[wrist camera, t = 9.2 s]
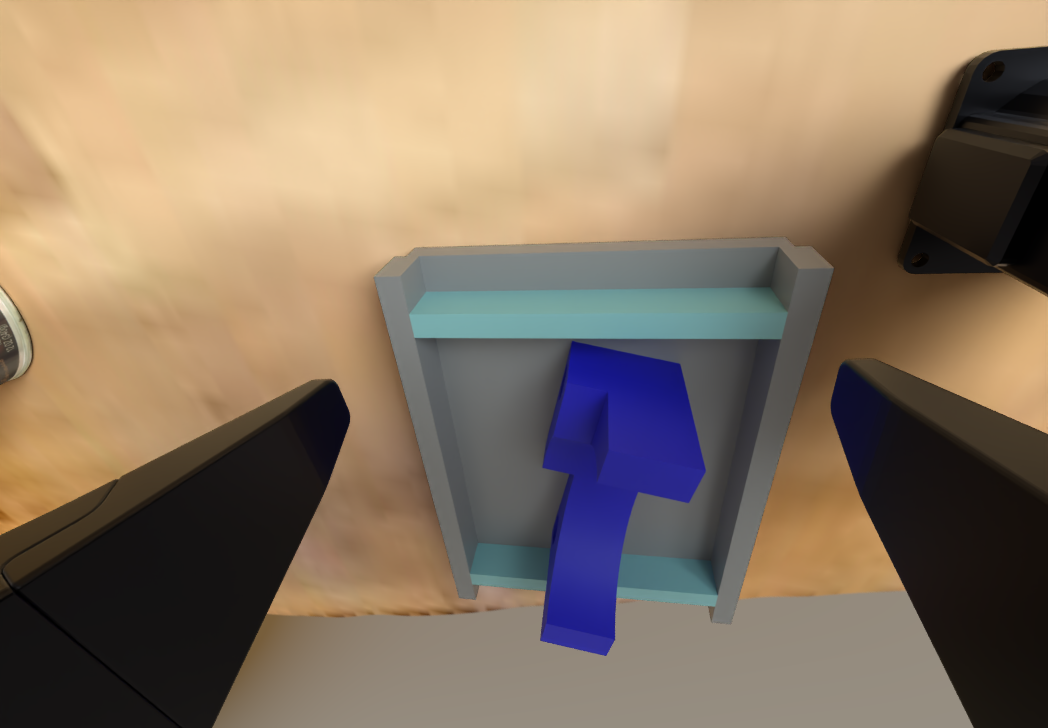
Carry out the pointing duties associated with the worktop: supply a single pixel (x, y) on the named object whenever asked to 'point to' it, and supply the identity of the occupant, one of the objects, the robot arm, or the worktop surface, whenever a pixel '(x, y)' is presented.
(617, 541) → the cable clip
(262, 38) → the worktop surface
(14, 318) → the coffee can
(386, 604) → the worktop surface
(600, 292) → the tray
